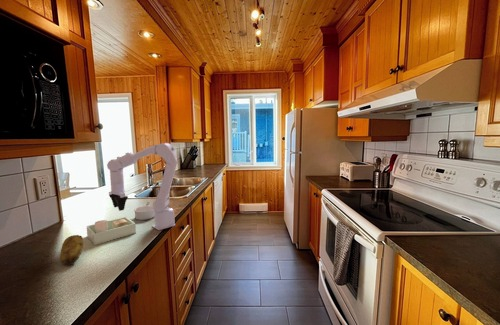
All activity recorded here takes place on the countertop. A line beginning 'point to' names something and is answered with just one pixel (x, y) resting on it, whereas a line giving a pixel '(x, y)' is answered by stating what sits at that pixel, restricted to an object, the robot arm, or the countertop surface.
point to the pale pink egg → (101, 226)
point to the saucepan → (144, 212)
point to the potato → (71, 249)
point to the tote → (111, 231)
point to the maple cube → (119, 223)
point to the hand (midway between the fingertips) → (119, 208)
